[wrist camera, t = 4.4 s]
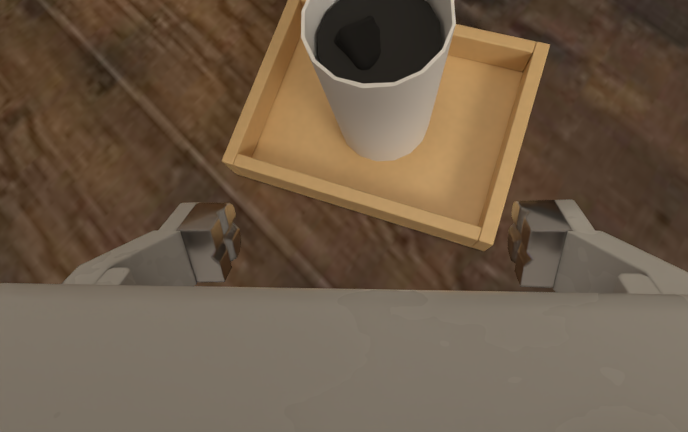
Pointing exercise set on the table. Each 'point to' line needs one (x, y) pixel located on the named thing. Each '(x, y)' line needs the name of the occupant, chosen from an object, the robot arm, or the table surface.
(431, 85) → the white tumbler
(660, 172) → the table surface
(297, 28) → the tray
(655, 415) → the robot arm
